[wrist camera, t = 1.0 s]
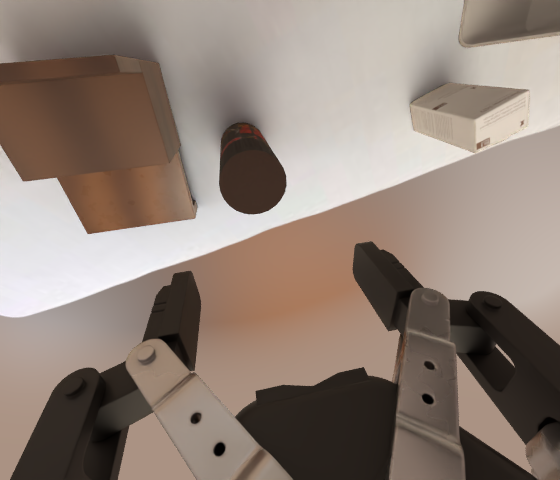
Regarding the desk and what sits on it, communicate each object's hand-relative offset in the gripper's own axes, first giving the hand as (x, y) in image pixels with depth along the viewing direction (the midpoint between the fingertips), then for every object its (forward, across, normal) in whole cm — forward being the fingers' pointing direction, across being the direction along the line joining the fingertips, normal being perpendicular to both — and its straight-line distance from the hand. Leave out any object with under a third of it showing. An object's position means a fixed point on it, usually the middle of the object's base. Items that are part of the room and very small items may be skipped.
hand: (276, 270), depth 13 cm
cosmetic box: (+28, -27, -2) cm, 39 cm away
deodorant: (+28, 0, 0) cm, 28 cm away
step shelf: (+28, +15, -1) cm, 31 cm away
